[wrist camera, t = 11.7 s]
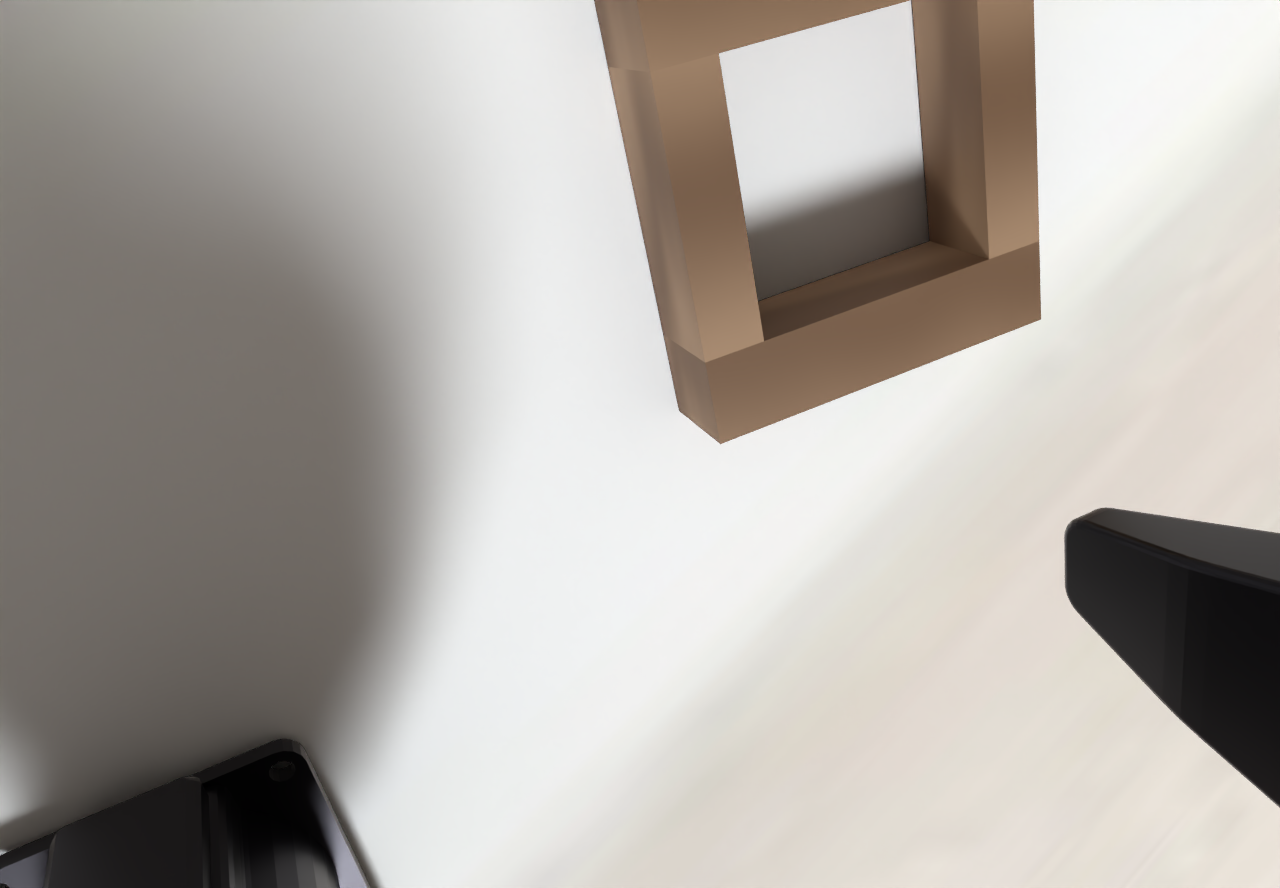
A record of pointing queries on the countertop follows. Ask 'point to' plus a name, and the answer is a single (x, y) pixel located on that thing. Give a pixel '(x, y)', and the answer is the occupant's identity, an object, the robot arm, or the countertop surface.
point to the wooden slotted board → (856, 298)
